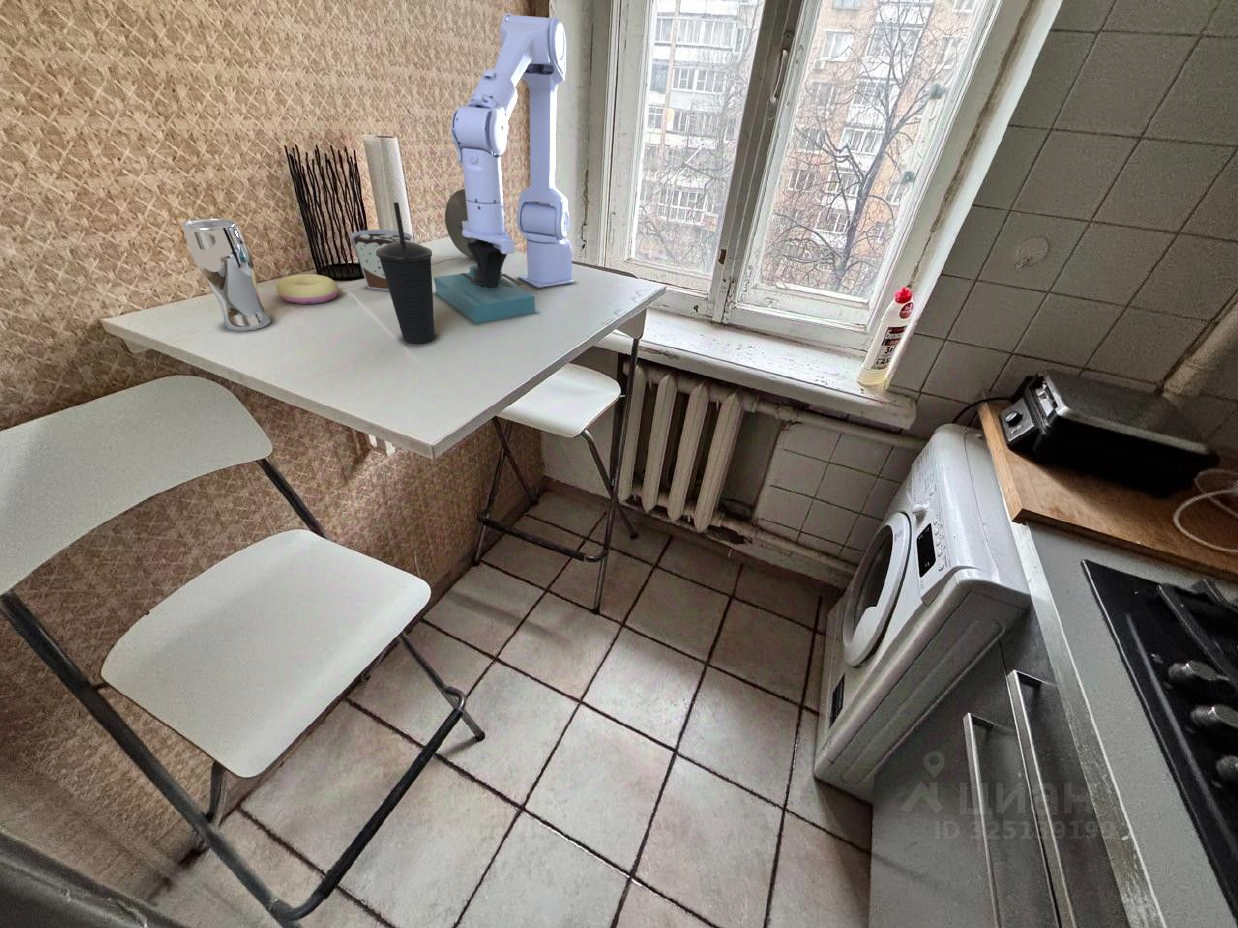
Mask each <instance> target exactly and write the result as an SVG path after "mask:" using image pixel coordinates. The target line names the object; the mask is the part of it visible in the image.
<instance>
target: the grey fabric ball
mask: <svg viewBox="0 0 1238 928" xmlns="http://www.w3.org/2000/svg"><path fill="white" fill-rule="evenodd" d="M462 221H468V216H467V206H466V196H465V188H462V189H458V190H456V192H454V193H452V194H451V196H450V197H449V198H448V200H447V202H446V205H445V211H444V222H445V227H446V230H447V234H448V236H449V238H450V240H451V242H452V244H453V245H454V246H455V247H456V249H457V250H458V251H459V252H461V254H463V255H464V256H466V257H467V258H470V259H471V260H475V259H474V257H473V255H472V253H471V251H470V250H469V248H468V246H467V244H468V243H472V242H475V240H476V238H472V237H471V238H468V237H465V236H463V235H462V231H463V225H462ZM504 229H505V230H506V221H505V219H504Z"/></svg>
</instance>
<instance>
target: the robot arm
mask: <svg viewBox="0 0 1238 928" xmlns="http://www.w3.org/2000/svg"><path fill="white" fill-rule="evenodd" d="M499 40H500V41H499V42H500V51H499V54H498V55H497V58H496V59H497V60H496V63H495V64H494V68H490V69H485V70H484V72H483V73H482V75H481V77H480V78H479V80H478V83H477V85H476V87H475V89H474V90H473V93H472V94H471V96H470V99H469V101H468V102H467V104H466V105H461V106H459V107H458V108H457V109H456V110H455V111H453V114H452V116H451V117H452V119H451V128H450V134H451V139H452V142H453V144H454V146H455V149H456V152H457V161H458V162H459V165H460V166H462V173H463V185H464V189H465V196H466V206H467V216H468V221H462V225H463V231H462V235H463V236H465V237H468V238H471V237H472V238H476V240H475V242H472V243H468V244H467V246H468V248H469V250H470V251H471V253H472V255H473V257H474V259H473V260H474V261H475V263H476V265H477V266H478V269H479V272H480V275H481V279H482V282H483V285H484V287H486V288H487V289H490V288H497V287H498V285H499V279H500V274H501V269H502V270H503V265H504V262H505V259H506V257H507V255H508V254H515V253H516V252H515V239H513V238H511V236H509V233H508V232H507V231H506V228H505V229H504V220H505V214H504V197H503V178H502V162H501V156H502V155H503V154H504V152H505V151H506V147H507V135H508V133H509V132H508V131H509V124H508V121H509V119H510V117H511V115H512V112H513V110H514V108H515V106H516V103H517V101H518V92H517V88H516V86H517V84H518V83H519V81H520V79H522V80H523V81H525V82H526V84H527V86H528V89H529V183H530V184H529V186H528V187H527V188H526V189H524V190H523V191H522V192H521V193H520V194H519V196H518V206H517V211H516V224H517V228H518V230H519V232H520V233H521V234H522V235H523V239H526V265H527V266H526V267H527V268H526V269H527V274H522V275H520V276H519V278H520V280H523V281H524V282H527V283H528V284H530V285H532V286H534V287H536V288H537V289H540V288H541V289H542V288H547V287H553V286H559V285H560V286H561V285H567V284H573V283H574V280H573V278H572V277H573V249H572V245H571V243H570V241H569V240H568V239H567V238H566V237H567V235H568V233H569V230H570V229H569V228H570V215H569V203H568V199H567V197H566V196H564V194H562V192H560V190H558V189H557V187H556V185H555V182H556V130H557V127H556V126H557V92H558V85H559V84H561V83H562V82H564V81H565V75H566V69H567V68H566V67H567V39H566V34H565V28H564V25H563V23H562V21H561V19H560V18H559V17H557V16H553V17H543V16H530V15H518V14H517V15H516V14H512V13H508V12H507V13H505V14H504V15H503V17H502V20H501V21H500V25H499Z"/></svg>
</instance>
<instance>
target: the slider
mask: <svg viewBox="0 0 1238 928" xmlns="http://www.w3.org/2000/svg"><path fill="white" fill-rule="evenodd" d="M473 273H474V279H473V280H471V283H473V284H474V285H476V286H477V285H483V282H482V279H481V275H480V272H479V269H478V267H477V268H473Z"/></svg>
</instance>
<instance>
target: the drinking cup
mask: <svg viewBox="0 0 1238 928" xmlns="http://www.w3.org/2000/svg"><path fill="white" fill-rule="evenodd" d="M393 208H394V214H395V221H396V227H397V231H399V237H400V241H398V242H393V243H390V244H387V245H385V246H384V247H382V248H379V249H378V250H377V251H376V254H377V256H378V257H379V258H380V261H381V264H382V268H383V271H384V275H385V278H386V281H387V285H388V288H389V290H388V291H389V295H390V298H391V301H392V305H393V308H394V312H395V315H396V318H397V322H398V326H399V328H400V329H399V330H400V333H401V335H402V339H403V341H404V342H405V343H406V344H409V345H415V346H421V345H427V344H430V343H432V342H434V341H435V340H436V331H435V314H434V313H435V312H434V293H433V292H434V291H433V276H432V256H433V251H432V249H430V248H428V247H426V246H424V245H421V244H419V243H416V242H415V243H413V242H408V241H405V237H404V232H405V231H404V226H403V220H402V214H401V208H400V203H399V202H393Z"/></svg>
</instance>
